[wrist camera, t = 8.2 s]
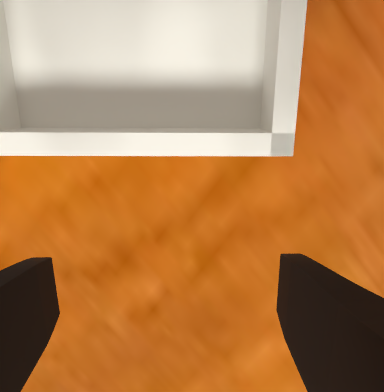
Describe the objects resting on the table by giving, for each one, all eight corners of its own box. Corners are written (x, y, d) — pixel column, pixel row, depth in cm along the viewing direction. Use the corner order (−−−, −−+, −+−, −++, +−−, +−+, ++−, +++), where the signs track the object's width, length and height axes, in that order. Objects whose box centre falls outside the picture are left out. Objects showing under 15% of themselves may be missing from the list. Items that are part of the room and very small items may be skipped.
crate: (19, 143, 18) (-27, 155, 14) (-8, -40, 16) (-72, -85, 12) (271, 144, 18) (292, 156, 14) (284, -37, 16) (314, -82, 12)
